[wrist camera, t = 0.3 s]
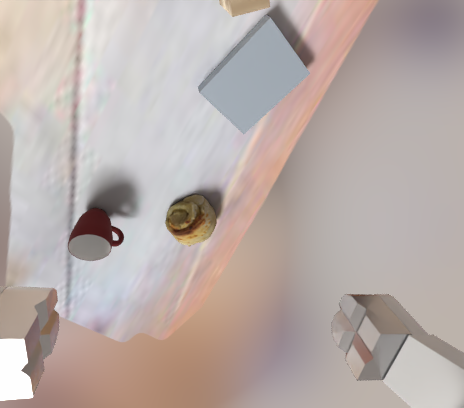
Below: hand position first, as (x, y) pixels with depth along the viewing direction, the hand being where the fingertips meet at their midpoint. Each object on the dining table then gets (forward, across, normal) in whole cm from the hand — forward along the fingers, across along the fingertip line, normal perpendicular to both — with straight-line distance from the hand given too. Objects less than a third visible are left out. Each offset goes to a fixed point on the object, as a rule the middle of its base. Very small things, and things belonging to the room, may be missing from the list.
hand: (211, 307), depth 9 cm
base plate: (+52, -12, -6) cm, 53 cm away
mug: (+58, +15, +29) cm, 67 cm away
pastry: (+60, -5, +28) cm, 66 cm away
